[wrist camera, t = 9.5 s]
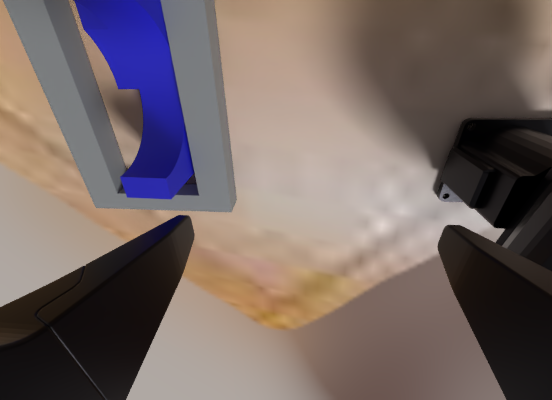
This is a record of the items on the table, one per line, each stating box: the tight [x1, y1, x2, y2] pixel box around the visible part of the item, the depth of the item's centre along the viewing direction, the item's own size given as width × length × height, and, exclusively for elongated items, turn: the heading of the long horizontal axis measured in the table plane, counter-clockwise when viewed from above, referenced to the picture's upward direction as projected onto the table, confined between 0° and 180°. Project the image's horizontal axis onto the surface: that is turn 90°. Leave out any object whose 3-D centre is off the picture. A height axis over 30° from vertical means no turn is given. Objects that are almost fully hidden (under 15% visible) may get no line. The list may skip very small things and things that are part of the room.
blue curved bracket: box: [74, 0, 195, 199], centre depth 16 cm, size 12×4×6 cm, turn 0°
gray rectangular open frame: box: [3, 0, 237, 212], centre depth 18 cm, size 12×18×2 cm, turn 1°
